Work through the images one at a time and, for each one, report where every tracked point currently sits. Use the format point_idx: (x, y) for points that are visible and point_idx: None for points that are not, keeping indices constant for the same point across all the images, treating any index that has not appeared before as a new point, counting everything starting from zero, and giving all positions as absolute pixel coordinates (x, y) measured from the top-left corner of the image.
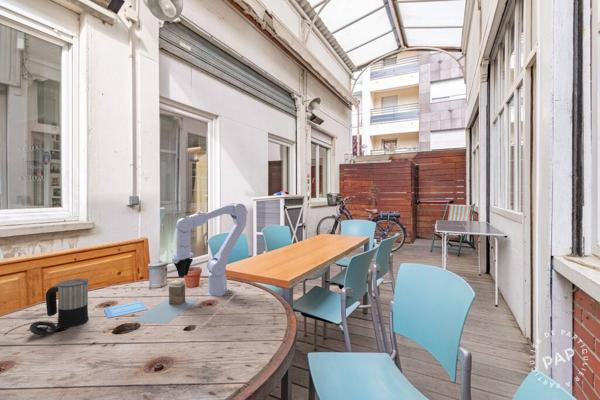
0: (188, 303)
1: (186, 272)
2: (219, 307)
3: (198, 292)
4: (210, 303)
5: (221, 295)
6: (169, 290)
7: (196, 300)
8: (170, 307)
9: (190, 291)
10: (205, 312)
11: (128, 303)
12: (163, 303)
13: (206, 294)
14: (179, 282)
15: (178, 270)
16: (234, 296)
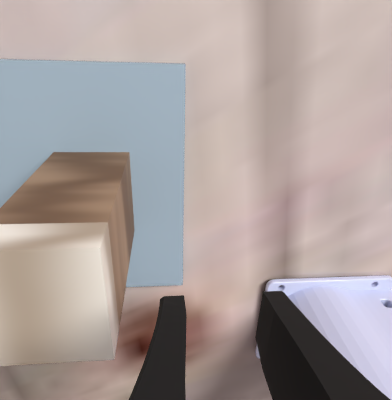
0: None
1: (268, 372)
2: (109, 393)
3: (344, 211)
4: None
5: (259, 358)
6: (6, 207)
7: (166, 281)
8: (4, 193)
9: (376, 145)
10: (31, 371)
11: None
12: (59, 93)
13: (275, 289)
14: (36, 342)
15: (149, 396)
16: (262, 394)
